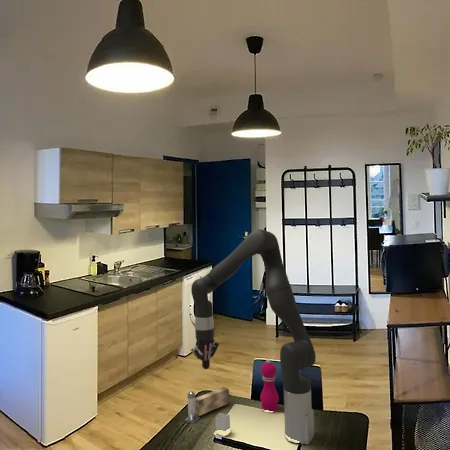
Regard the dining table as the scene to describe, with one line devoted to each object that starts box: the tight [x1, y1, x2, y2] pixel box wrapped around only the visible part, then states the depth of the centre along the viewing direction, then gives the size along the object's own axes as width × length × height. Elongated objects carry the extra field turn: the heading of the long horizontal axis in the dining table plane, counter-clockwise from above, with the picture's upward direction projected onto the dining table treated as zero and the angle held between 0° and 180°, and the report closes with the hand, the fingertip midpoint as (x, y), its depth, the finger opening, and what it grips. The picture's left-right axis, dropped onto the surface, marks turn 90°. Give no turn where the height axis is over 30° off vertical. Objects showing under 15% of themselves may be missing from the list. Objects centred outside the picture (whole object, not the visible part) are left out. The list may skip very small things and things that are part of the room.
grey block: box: [214, 412, 231, 432], centre depth 154 cm, size 4×4×6 cm
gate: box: [195, 386, 230, 417], centre depth 171 cm, size 15×3×6 cm, turn 130°
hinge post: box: [184, 391, 201, 424], centre depth 164 cm, size 4×4×11 cm
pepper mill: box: [259, 358, 280, 412], centre depth 170 cm, size 7×7×20 cm
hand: (206, 368), depth 177 cm, fingers closed
